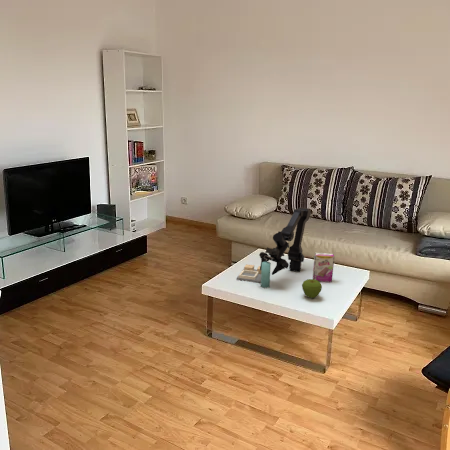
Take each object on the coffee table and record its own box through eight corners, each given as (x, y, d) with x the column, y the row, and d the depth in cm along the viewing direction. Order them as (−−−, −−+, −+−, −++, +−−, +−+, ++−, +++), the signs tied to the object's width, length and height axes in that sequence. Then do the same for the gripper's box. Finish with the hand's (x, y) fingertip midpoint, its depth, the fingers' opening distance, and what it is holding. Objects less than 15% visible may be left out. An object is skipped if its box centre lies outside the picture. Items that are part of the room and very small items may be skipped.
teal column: (270, 285, 278) (271, 262, 274) (268, 288, 274) (269, 265, 270) (261, 283, 280) (262, 261, 276) (259, 287, 275) (260, 264, 271)
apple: (297, 294, 266) (298, 277, 264) (314, 291, 270) (315, 275, 267) (308, 302, 257) (309, 284, 254) (324, 299, 260) (326, 282, 258)
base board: (269, 273, 296) (269, 266, 295) (263, 283, 280) (263, 276, 279) (244, 269, 301) (244, 263, 299) (236, 279, 285) (236, 273, 284)
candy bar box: (313, 281, 285) (314, 255, 280) (312, 278, 289) (314, 252, 285) (332, 282, 284) (334, 256, 279) (331, 279, 288) (333, 253, 284)
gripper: (261, 238, 280) (247, 260, 276) (286, 246, 267) (272, 269, 263) (270, 248, 287) (256, 270, 283) (294, 256, 274) (281, 279, 270)
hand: (266, 272), depth 274 cm, fingers open, 9 cm apart
